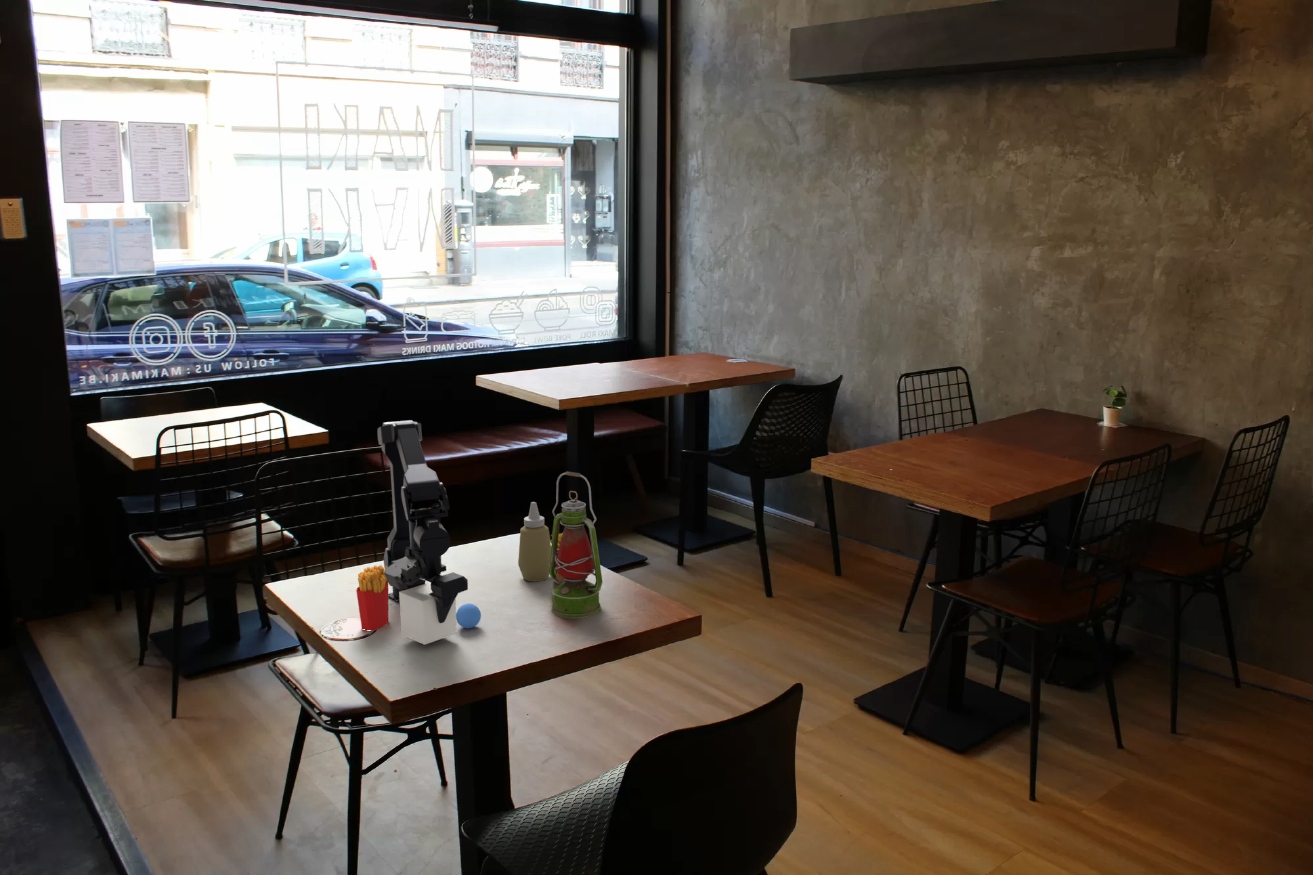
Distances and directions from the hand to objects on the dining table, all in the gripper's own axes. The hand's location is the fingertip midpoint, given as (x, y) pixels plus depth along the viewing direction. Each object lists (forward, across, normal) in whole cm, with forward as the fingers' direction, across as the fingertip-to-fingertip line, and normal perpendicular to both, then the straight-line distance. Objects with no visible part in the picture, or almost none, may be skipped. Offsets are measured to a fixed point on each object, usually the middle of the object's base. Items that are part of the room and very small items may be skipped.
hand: (429, 617), depth 208 cm
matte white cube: (+3, 0, 0) cm, 3 cm away
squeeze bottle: (+5, -12, +38) cm, 40 cm away
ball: (+2, 0, +9) cm, 10 cm away
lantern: (+5, +9, +31) cm, 33 cm away
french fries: (+5, -15, -3) cm, 16 cm away
